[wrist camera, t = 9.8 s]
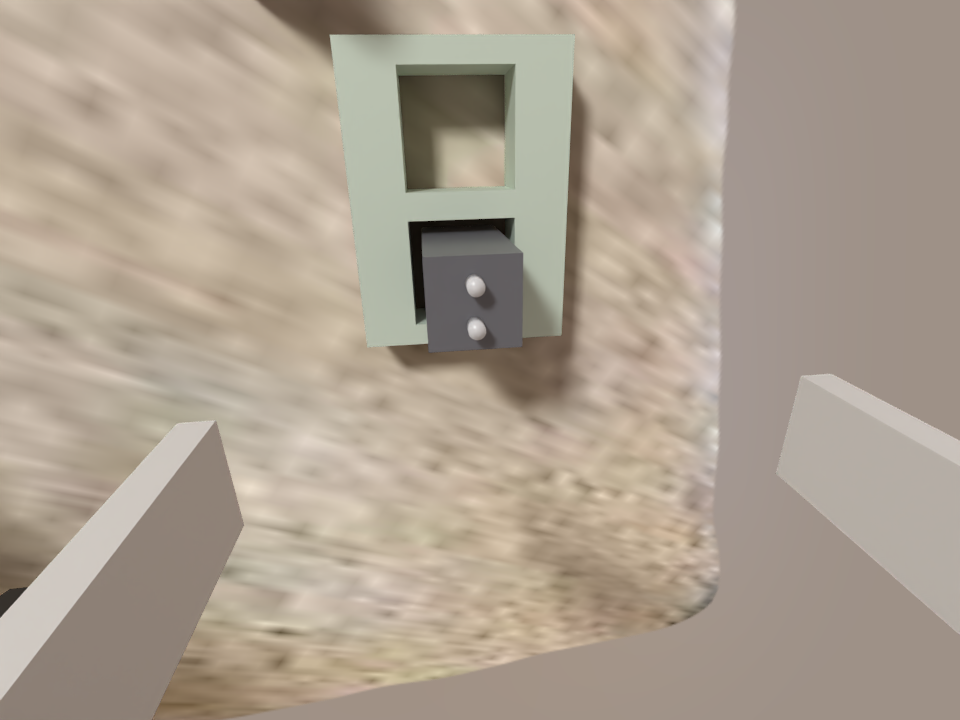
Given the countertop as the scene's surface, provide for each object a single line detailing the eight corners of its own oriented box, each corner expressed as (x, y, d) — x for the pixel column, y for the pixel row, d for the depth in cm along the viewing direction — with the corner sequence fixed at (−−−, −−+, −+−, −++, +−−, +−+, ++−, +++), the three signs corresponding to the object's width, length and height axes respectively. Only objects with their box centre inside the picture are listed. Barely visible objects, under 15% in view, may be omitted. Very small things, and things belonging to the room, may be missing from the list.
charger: (426, 297, 32) (429, 360, 22) (421, 227, 30) (422, 261, 20) (493, 293, 33) (526, 354, 22) (492, 224, 31) (527, 257, 21)
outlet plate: (372, 328, 33) (367, 347, 29) (340, 49, 26) (329, 34, 23) (547, 318, 34) (561, 335, 30) (556, 49, 27) (574, 34, 24)
